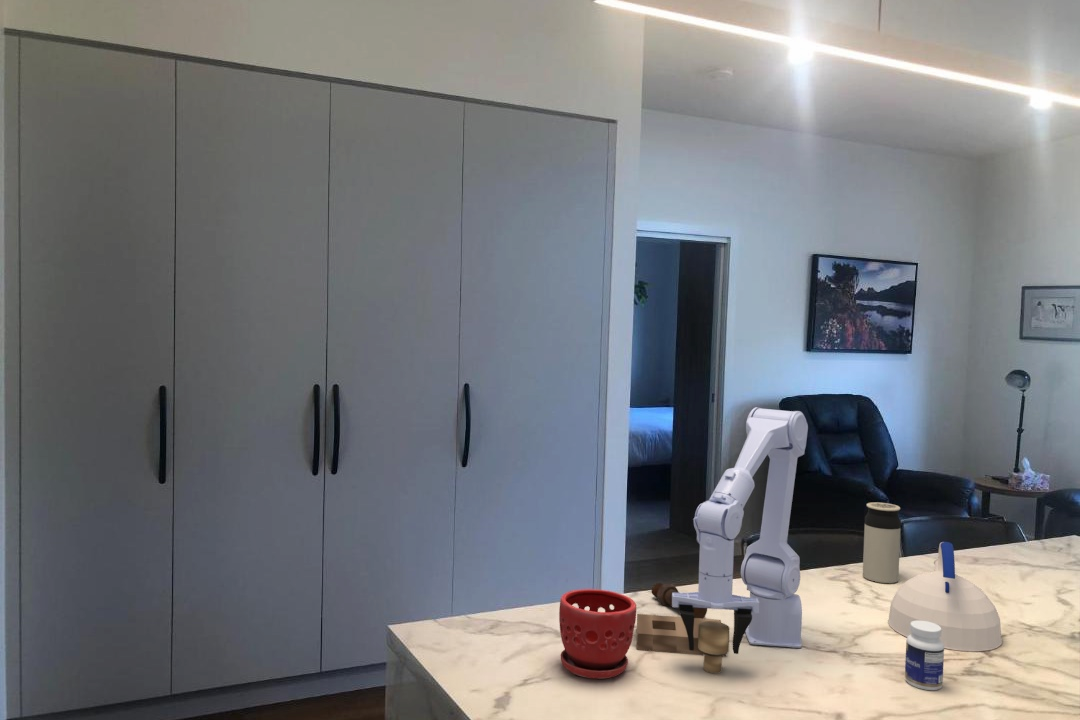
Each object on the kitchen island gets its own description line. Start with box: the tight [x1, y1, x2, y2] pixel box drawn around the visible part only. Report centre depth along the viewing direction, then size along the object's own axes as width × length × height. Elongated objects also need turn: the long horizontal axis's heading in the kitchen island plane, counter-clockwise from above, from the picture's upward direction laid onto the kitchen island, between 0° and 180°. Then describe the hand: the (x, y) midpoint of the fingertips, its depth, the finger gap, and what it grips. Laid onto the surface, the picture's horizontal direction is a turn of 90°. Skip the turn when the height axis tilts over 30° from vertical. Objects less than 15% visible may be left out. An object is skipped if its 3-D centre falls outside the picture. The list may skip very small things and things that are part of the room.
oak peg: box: [698, 621, 730, 674], centre depth 132 cm, size 5×5×8 cm
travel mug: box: [862, 501, 902, 584], centre depth 186 cm, size 8×8×18 cm
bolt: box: [651, 582, 708, 619], centre depth 162 cm, size 6×5×15 cm
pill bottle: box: [904, 621, 945, 691], centre depth 129 cm, size 6×6×10 cm
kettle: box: [887, 541, 1003, 653], centre depth 153 cm, size 20×21×18 cm
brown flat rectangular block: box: [636, 613, 727, 657], centre depth 144 cm, size 16×10×3 cm, turn 83°
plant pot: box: [558, 588, 637, 680], centre depth 131 cm, size 13×13×12 cm
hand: (713, 649), depth 132 cm, fingers open, 7 cm apart
